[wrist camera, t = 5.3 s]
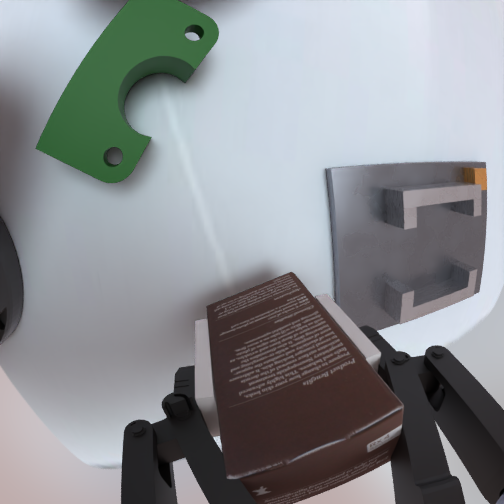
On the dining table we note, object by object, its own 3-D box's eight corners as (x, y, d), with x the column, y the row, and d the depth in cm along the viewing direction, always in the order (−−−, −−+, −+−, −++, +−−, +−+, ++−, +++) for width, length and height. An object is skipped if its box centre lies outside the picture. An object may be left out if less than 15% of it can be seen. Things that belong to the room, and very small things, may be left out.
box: (231, 357, 19) (264, 516, 8) (204, 303, 18) (216, 477, 7) (313, 324, 20) (403, 459, 8) (295, 267, 18) (408, 399, 7)
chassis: (336, 335, 24) (352, 357, 21) (325, 168, 20) (346, 168, 17) (473, 288, 26) (493, 300, 23) (478, 161, 22) (503, 164, 19)
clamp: (141, 151, 22) (111, 214, 16) (83, 122, 20) (29, 173, 13) (225, 29, 16) (231, 25, 10) (158, -7, 14) (122, -28, 7)
